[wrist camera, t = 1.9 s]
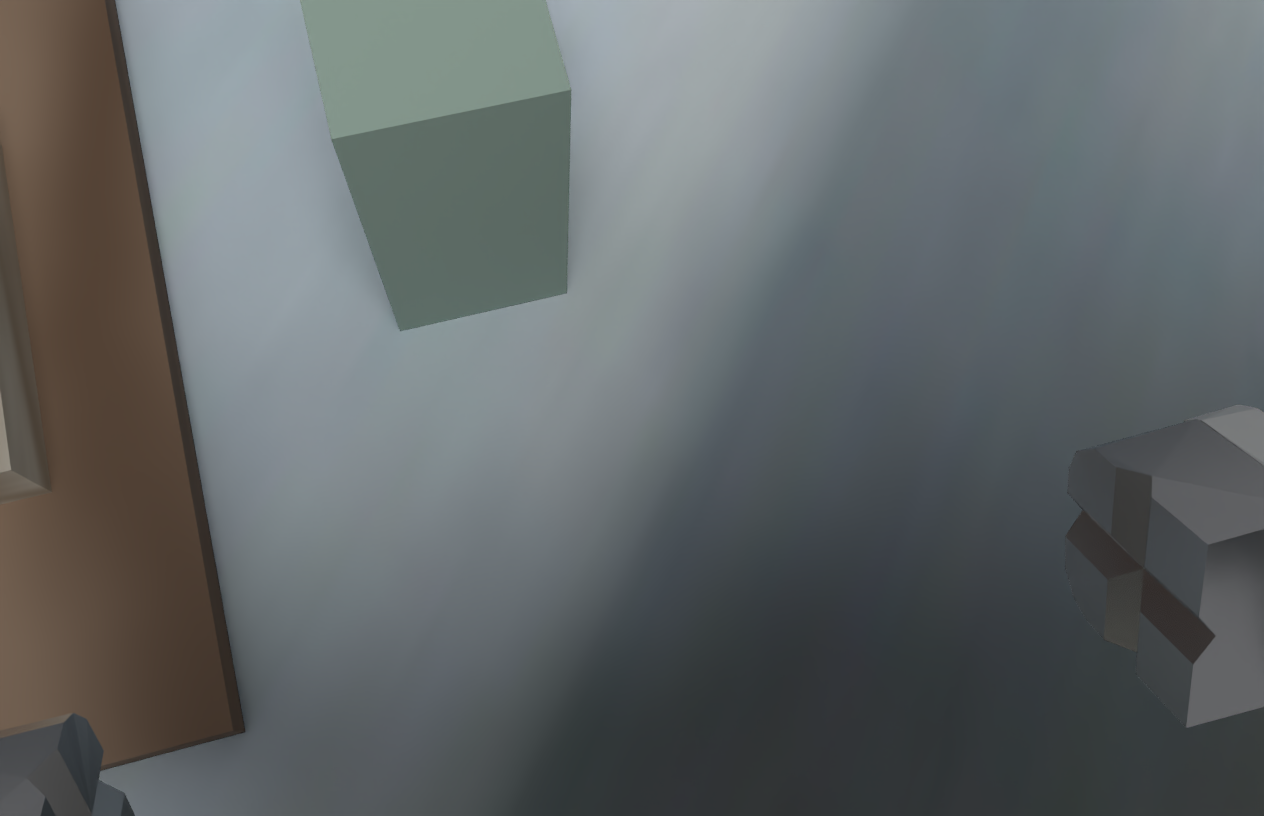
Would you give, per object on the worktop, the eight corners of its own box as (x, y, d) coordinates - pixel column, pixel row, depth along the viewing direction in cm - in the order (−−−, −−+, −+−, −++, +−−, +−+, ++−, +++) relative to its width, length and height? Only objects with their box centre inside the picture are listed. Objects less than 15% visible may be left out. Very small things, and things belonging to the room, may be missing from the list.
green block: (526, 145, 30) (514, -107, 21) (566, 293, 29) (571, 89, 20) (365, 179, 29) (285, -65, 21) (400, 330, 28) (331, 139, 20)
